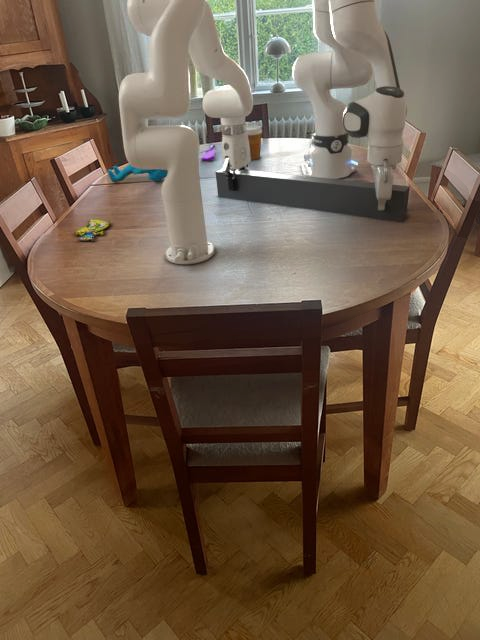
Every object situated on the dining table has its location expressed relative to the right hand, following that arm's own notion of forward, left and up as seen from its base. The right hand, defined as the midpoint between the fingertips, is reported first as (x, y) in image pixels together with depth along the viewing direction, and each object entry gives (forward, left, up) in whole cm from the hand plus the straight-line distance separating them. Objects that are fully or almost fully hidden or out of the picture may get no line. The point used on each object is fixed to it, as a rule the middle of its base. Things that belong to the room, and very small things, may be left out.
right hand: (380, 204), depth 135 cm
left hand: (-32, -35, 0) cm, 48 cm away
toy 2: (-65, -65, -3) cm, 92 cm away
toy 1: (-18, -82, -3) cm, 84 cm away
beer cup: (-78, -22, -3) cm, 81 cm away
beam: (-16, -18, -3) cm, 24 cm away
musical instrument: (-92, -42, -3) cm, 101 cm away
